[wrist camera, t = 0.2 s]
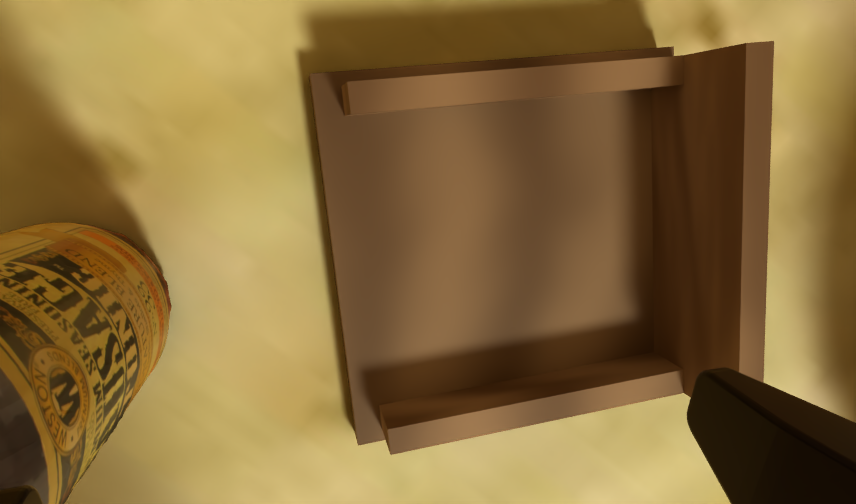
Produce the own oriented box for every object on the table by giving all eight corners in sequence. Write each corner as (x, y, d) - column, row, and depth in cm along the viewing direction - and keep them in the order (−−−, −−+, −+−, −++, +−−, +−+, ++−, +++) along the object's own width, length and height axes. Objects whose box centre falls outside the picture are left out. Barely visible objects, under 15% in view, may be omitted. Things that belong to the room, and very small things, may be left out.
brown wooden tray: (355, 433, 24) (377, 525, 19) (308, 76, 21) (318, 55, 16) (660, 371, 27) (761, 434, 21) (658, 50, 24) (774, 24, 18)
